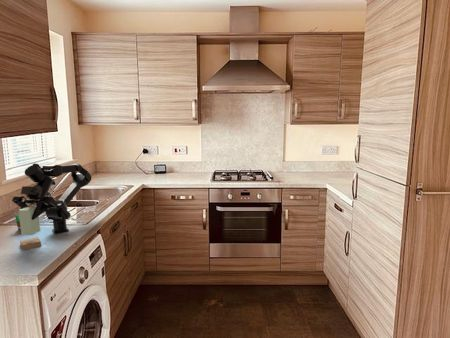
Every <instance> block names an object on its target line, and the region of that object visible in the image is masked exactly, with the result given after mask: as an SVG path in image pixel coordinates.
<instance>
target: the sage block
mask: <svg viewBox="0 0 450 338" xmlns="http://www.w3.org/2000/svg"><path fill="white" fill-rule="evenodd" d="M35 209H36V207H31V206H29V207H25V208H22V209H21V208H20V209H18V210H17V211H18V212H19V219H20V227H21V230H20V232H21V236H33V235H36V234H37V233H39V232H41V227H40V226H41V225H40V218H39V217H40V215H39V216H38V217H37V218H35V219H34V220H32V219H31V218H32V215H33V213H34V211H35Z"/></svg>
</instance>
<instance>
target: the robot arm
mask: <svg viewBox="0 0 450 338" xmlns="http://www.w3.org/2000/svg"><path fill="white" fill-rule="evenodd" d="M68 173H71V178H72V183H71V184H70V185H69V186H68V187H67V189H65V191H64V193H63V194H62V195H61V196H60V197H59V198H58V199H55V198H54V196H49V195H50V192H49V190H50V189H51V187H52V186H55V185H56V182H55V179H54V178H59V177H60V176H62V175H64V174H68ZM24 175H25V176H27V177H28V178H29V179H30V181H32V182H33V183H35V185H34V186H28V185H27V186H24V185H23V186H21V191H20V194H21V195H15V196H13V197H12V199H11V202H13V204H15V205H16V206H18V207H20V209H22V208H25V207H30V205H34V204H35V206H36V209H35V211H34V213H33V215H32V218H31V219H32V220H34V219H35V218H37V217H38V216H39V217H40V215H42V214H43V213H44V212H45V215H46V217H47V219H48V221H49V220H50V221H51V220H52V225H53V229H51V231H52V233H53V234H61V233H64V232H68V231H70V229H69V227H67V220H69V219H70V218H71V213H70V212H69V211H68V205H69V203H71V201H72V200H73V198H74V197H75V196H77V194H78V192H79V191H80V190H81V188H84V187H85V186H88V184H90V183H91V181H92V175H91V174H90V172H89V170H87V169H85V168H84V167H83V166H82V165H81V164H79V163H72V164H64V165H63V164H62V165H60V164H43V165H42V167H41V165H39V163H38V162H37V163H32V165H29V166H28V167H27V168H25V170H24ZM23 195H26V197H27V198H26V197H25V196H23Z"/></svg>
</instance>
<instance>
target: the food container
mask: <svg viewBox="0 0 450 338" xmlns="http://www.w3.org/2000/svg"><path fill="white" fill-rule="evenodd" d="M30 205H31V206H30V207H36V205H34V204H30ZM13 216H14V217H15V222H16V226H17V230H18V231H21V227H20V219H19V212H18V210H17V211H16V210H15V211H13Z"/></svg>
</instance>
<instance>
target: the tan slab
mask: <svg viewBox="0 0 450 338" xmlns="http://www.w3.org/2000/svg"><path fill="white" fill-rule="evenodd" d="M19 243H20V247H21V250H22V251H25V250H28V249H29V250H30V249H35V248H37V247H41V246H42V242H41V239H40V238H39V236H35V237H30V238H26V239H20V240H19Z"/></svg>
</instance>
